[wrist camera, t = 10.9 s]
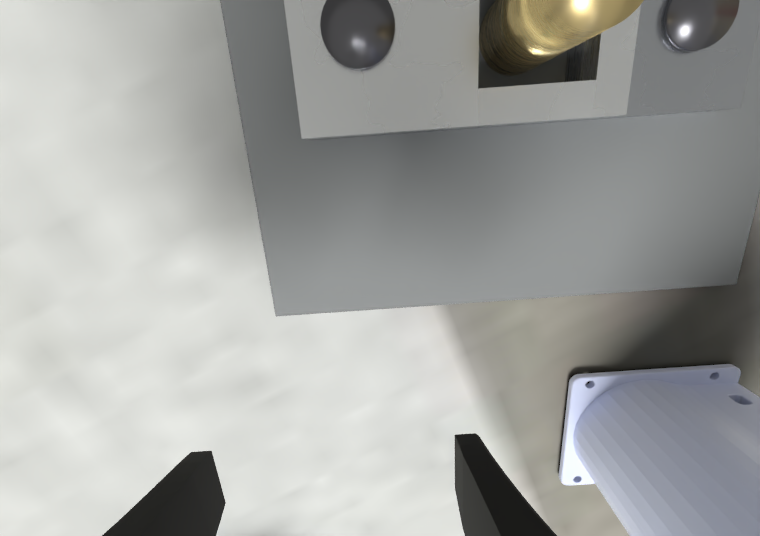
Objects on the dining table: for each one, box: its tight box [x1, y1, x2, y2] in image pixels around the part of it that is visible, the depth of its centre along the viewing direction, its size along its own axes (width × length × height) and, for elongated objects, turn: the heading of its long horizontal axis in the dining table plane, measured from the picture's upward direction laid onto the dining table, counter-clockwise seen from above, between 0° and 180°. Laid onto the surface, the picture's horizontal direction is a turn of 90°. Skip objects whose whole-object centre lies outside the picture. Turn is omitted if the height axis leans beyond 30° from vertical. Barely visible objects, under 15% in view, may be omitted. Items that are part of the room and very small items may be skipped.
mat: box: [220, 0, 760, 316], centre depth 16 cm, size 24×18×1 cm
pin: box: [479, 0, 644, 76], centre depth 12 cm, size 3×3×6 cm
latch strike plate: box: [284, 0, 760, 141], centre depth 14 cm, size 18×7×3 cm, turn 94°
